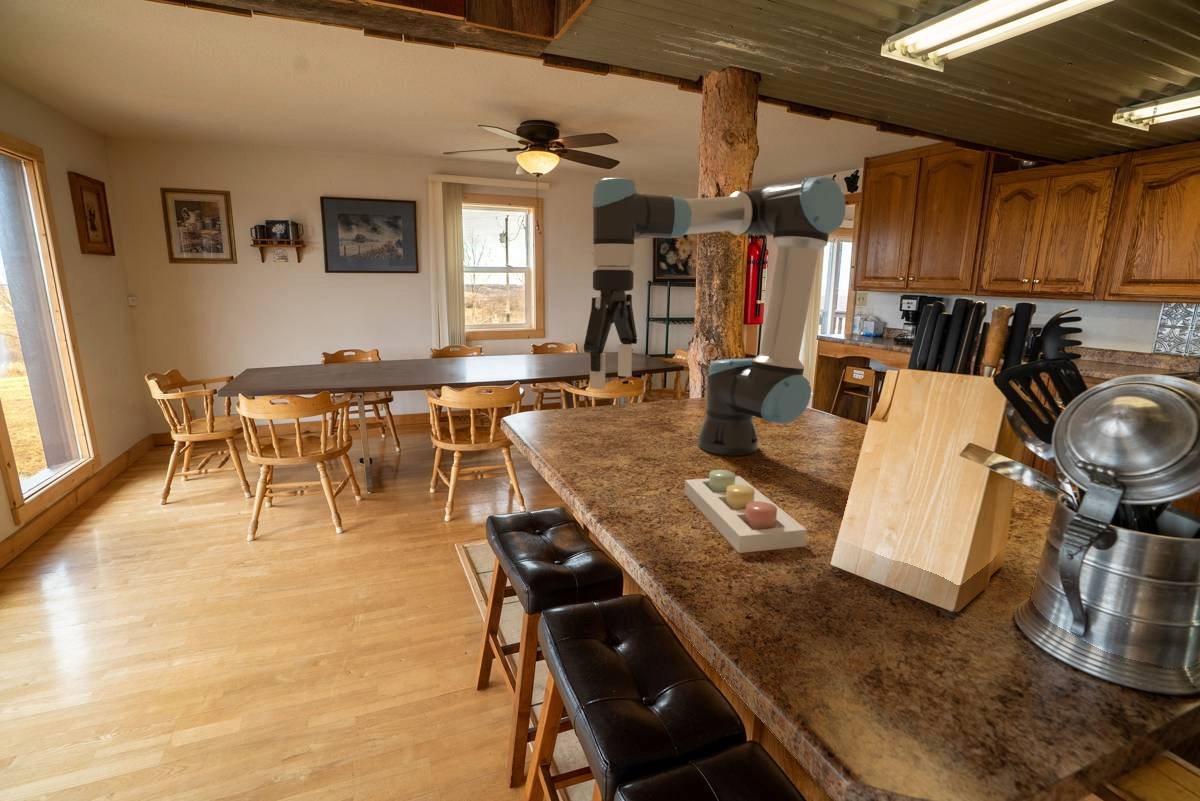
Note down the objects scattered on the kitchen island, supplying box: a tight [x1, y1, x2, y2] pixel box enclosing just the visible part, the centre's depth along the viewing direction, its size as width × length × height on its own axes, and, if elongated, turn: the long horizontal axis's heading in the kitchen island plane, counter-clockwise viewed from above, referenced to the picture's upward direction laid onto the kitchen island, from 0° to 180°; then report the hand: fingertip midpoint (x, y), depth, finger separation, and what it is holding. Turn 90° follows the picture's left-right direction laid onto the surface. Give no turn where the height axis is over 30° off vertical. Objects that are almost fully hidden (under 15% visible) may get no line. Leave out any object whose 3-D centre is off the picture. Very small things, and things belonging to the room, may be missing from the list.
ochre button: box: [726, 484, 755, 510], centre depth 102 cm, size 5×5×3 cm
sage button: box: [708, 469, 736, 493], centre depth 110 cm, size 5×5×3 cm
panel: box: [683, 475, 808, 554], centre depth 103 cm, size 12×25×3 cm, turn 12°
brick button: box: [745, 501, 777, 530], centre depth 95 cm, size 5×5×3 cm
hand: (611, 382), depth 107 cm, fingers open, 13 cm apart
